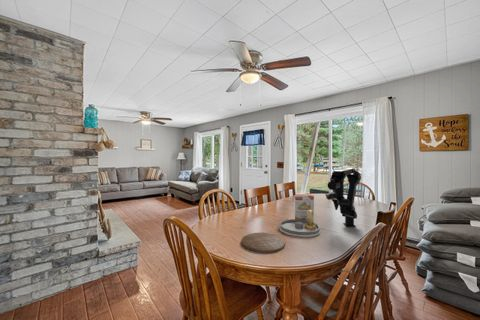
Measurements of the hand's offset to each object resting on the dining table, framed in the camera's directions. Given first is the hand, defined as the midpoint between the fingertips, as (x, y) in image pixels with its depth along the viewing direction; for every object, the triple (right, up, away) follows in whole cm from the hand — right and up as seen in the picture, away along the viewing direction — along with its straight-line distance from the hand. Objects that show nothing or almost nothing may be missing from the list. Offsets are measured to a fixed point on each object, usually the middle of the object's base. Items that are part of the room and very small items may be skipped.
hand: (338, 211), depth 138 cm
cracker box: (-17, -13, +21) cm, 30 cm away
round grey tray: (-26, -13, +3) cm, 29 cm away
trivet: (-54, -14, -20) cm, 59 cm away
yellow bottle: (-19, -12, +2) cm, 22 cm away
